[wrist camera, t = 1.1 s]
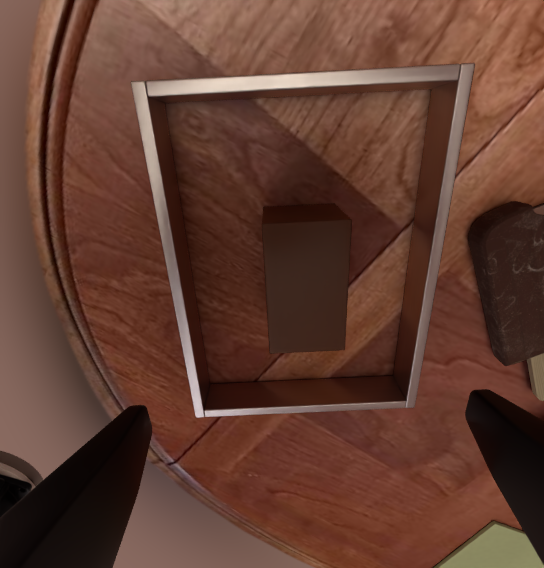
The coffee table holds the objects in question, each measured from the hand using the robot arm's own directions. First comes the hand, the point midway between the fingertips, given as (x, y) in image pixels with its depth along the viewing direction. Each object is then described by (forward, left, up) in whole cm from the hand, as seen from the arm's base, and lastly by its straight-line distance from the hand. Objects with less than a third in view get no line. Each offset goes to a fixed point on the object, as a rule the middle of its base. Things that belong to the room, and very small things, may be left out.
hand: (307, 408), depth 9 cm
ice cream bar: (+4, -15, -12) cm, 20 cm away
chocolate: (0, -1, -11) cm, 11 cm away
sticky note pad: (-18, -35, -11) cm, 41 cm away
